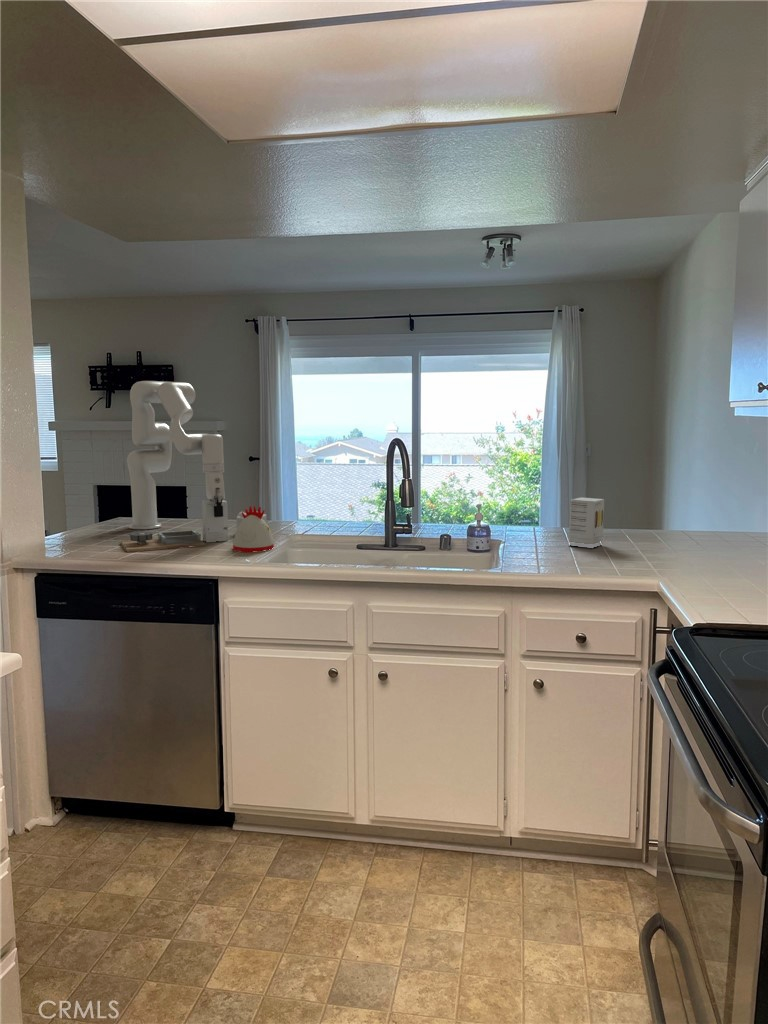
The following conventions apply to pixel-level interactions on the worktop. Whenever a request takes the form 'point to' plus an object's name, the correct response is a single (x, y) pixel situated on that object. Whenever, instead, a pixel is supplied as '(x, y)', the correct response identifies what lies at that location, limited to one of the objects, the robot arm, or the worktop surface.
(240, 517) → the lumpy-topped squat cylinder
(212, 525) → the skincare box
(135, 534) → the wheel
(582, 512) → the supplement box
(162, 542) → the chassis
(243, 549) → the white red crested helmet
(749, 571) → the worktop surface
